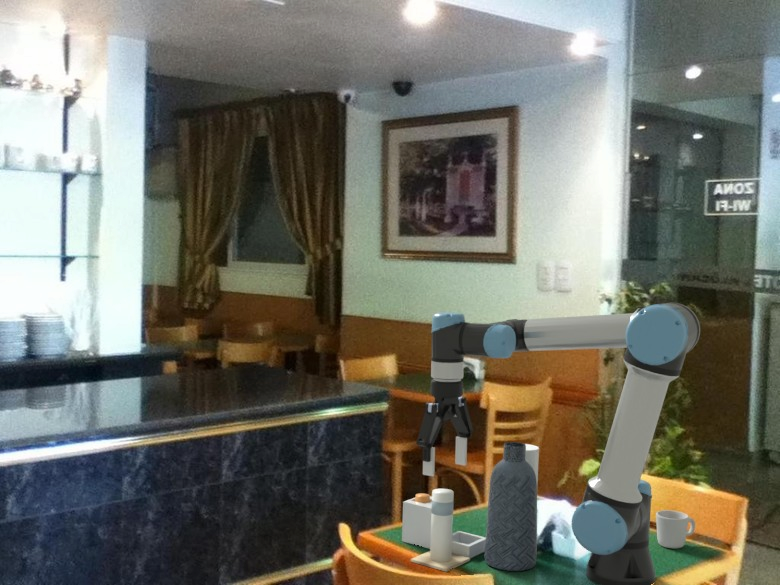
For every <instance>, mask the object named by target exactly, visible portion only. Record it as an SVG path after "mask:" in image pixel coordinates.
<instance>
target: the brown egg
mask: <svg viewBox="0 0 780 585" xmlns="http://www.w3.org/2000/svg"><path fill="white" fill-rule="evenodd" d="M430 496H431V495H430V494H428V493H424V492H423V493H421V492H420V493H416V494H415V497H414V498H415V501H416V502H420V503H424V504H425V503H428V502H430Z"/></svg>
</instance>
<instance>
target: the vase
mask: <svg viewBox="0 0 780 585" xmlns="http://www.w3.org/2000/svg"><path fill="white" fill-rule="evenodd" d="M525 444H526V443H523V442H517V441H515V442H514V441H510V442H509V441H508V442H504V443H503V452H502V453H503V454H502V456H503V457H502V459H501V460H500V461H498V462H497V463H496V464H495V466H494V467H493V468H492V472H491V474H490V478H489V489H488V500H487V511H486V512H487V515H486V516H487V517H486V526H485V527H486V529H485V537H486V539H485V552H484V561H485V563H486V564H487V565H488V566H490V567H491V568H494V569H497V570H502V571H509V572H510V571H511V572H522V571H526V570H527V571H528V570H531V569H533V568H535V566H536V564H537V555H538V546H537V545H538V483H537V479H536V474H535V471H534V469H533V468H532V466H531V465H530V464H529V463H528V462H527V461H526V460H525V458H526V445H525Z"/></svg>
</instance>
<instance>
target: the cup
mask: <svg viewBox="0 0 780 585" xmlns="http://www.w3.org/2000/svg"><path fill="white" fill-rule="evenodd" d="M655 520H656V522H655V523H656V537H657V538H656V539H657V542H658V544H659V545H660V546H661V547H664V548H666V549H667V548H668V549H681V548H683V547H684V546H685V544H686V541H687V540H686V539H687V537H689V536H692V535H693V534H694V533H695V530H696V522H695V520H694V518H691V517H690V516H689V515H688V514H687V513H685V512H682V511H678V510H670V509H669V510H668V509H667V510H666V509H664V510H658V511H657V512H656V513H655ZM689 522H690V526H689ZM689 527H690V528H689ZM688 528H689V530H688Z"/></svg>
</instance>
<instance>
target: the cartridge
mask: <svg viewBox="0 0 780 585" xmlns="http://www.w3.org/2000/svg"><path fill="white" fill-rule="evenodd" d="M431 491H432V492H431V496H432V507H431V513H432V514H431V542H430V549H429V551H430V559H431V560H432V561H435V562H448V561H450V560H451V552H452V533H453V524H454V523H453V522H454V520H453V519H454V518H453V517H454V496H455V495H454V494H455V493H454V491H453V490H452V489H450V488H449V489H448V488H435V489H432V490H431Z"/></svg>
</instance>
